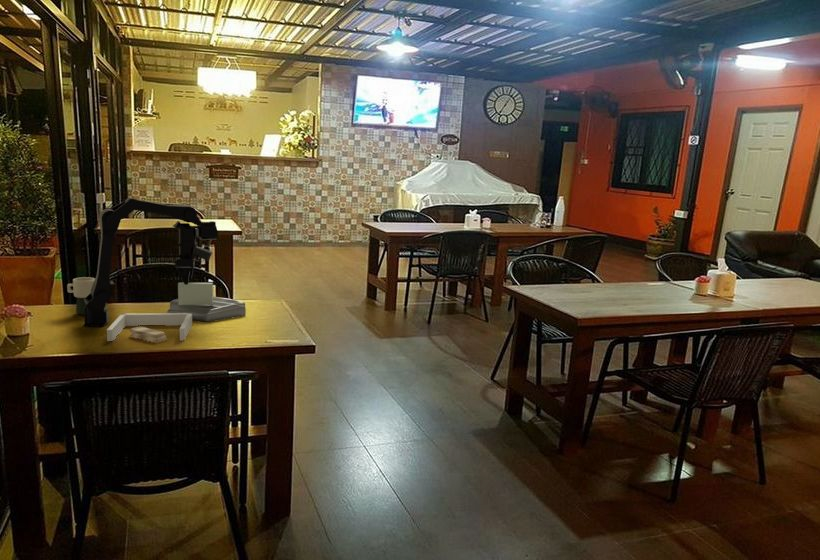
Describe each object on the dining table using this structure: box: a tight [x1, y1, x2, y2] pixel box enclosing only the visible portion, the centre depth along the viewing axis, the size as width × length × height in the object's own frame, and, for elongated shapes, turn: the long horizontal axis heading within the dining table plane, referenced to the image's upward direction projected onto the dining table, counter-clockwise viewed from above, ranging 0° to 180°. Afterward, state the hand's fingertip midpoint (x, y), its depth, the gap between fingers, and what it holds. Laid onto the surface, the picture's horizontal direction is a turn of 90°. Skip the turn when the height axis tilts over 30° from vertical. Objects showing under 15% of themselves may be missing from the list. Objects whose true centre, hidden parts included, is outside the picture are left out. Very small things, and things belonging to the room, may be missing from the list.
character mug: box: [66, 276, 96, 315], centre depth 212 cm, size 11×7×13 cm, turn 107°
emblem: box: [166, 296, 247, 323], centre depth 224 cm, size 28×5×28 cm
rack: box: [106, 312, 193, 342], centre depth 196 cm, size 23×20×4 cm
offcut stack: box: [129, 326, 167, 344], centre depth 190 cm, size 12×4×3 cm, turn 64°
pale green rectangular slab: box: [177, 282, 214, 305], centre depth 218 cm, size 12×2×8 cm, turn 104°
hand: (188, 281), depth 216 cm, fingers open, 9 cm apart
